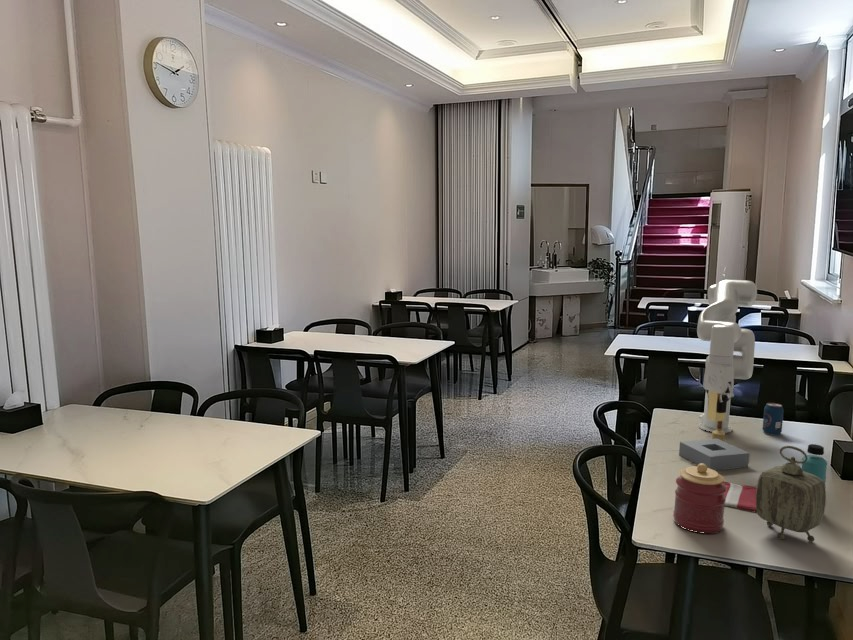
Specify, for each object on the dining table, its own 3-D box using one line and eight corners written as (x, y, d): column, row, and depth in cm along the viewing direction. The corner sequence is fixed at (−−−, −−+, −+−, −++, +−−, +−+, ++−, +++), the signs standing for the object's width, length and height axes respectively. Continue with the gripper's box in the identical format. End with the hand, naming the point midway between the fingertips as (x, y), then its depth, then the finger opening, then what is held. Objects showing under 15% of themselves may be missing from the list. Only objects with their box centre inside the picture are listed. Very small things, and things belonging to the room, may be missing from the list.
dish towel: (691, 480, 211) (691, 472, 210) (771, 496, 199) (772, 488, 198) (682, 498, 196) (682, 490, 196) (768, 517, 184) (769, 508, 184)
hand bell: (734, 447, 243) (737, 406, 240) (721, 451, 238) (725, 409, 236) (713, 441, 249) (716, 401, 247) (701, 444, 245) (704, 404, 242)
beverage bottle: (822, 518, 183) (830, 451, 180) (796, 512, 186) (802, 446, 184) (823, 509, 188) (830, 444, 186) (797, 504, 192) (803, 440, 189)
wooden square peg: (707, 418, 227) (709, 385, 225) (716, 417, 228) (719, 384, 226) (715, 421, 223) (717, 387, 221) (724, 420, 224) (727, 387, 222)
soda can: (758, 430, 263) (761, 402, 261) (774, 430, 264) (776, 402, 262) (769, 436, 256) (771, 407, 255) (785, 435, 257) (788, 406, 255)
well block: (679, 454, 233) (680, 441, 232) (715, 451, 237) (716, 438, 237) (709, 470, 218) (710, 456, 217) (748, 466, 222) (749, 453, 222)
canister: (729, 537, 171) (734, 474, 168) (678, 532, 173) (682, 470, 170) (716, 516, 183) (721, 457, 181) (668, 512, 186) (672, 453, 183)
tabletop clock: (821, 542, 168) (831, 451, 165) (805, 552, 163) (814, 458, 160) (766, 522, 180) (774, 436, 176) (749, 530, 175) (757, 442, 171)
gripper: (695, 355, 229) (691, 405, 232) (729, 365, 214) (724, 418, 216) (713, 354, 231) (709, 403, 234) (747, 364, 216) (743, 416, 218)
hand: (716, 410), depth 225 cm, fingers closed on wooden square peg, 4 cm apart
